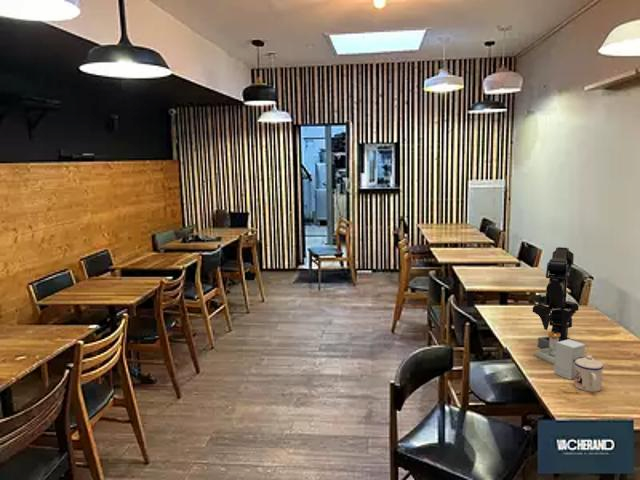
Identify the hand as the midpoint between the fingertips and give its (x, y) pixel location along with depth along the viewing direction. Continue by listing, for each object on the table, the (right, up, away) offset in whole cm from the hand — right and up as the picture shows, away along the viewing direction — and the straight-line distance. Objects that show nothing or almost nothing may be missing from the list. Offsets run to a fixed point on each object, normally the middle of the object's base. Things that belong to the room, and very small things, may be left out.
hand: (554, 328), depth 209 cm
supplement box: (-1, -15, -14) cm, 21 cm away
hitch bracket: (+5, -11, +14) cm, 18 cm away
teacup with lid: (0, -17, -27) cm, 32 cm away
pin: (0, -12, +2) cm, 12 cm away
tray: (0, -13, +2) cm, 13 cm away
